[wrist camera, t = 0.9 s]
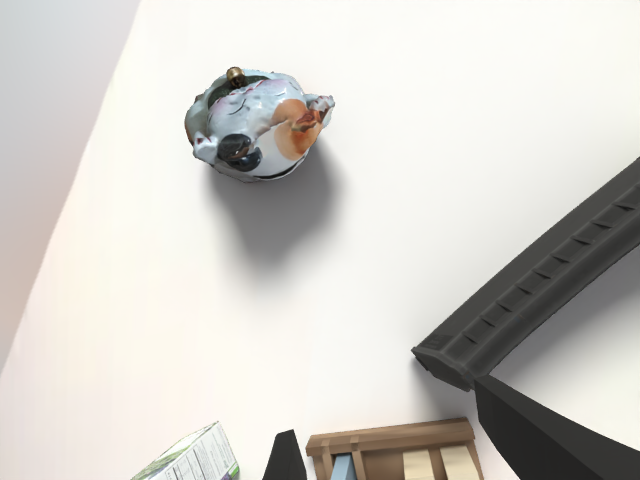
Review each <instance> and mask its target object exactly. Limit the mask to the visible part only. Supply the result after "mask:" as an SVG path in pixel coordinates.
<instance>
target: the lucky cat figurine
mask: <svg viewBox="0 0 640 480" xmlns="http://www.w3.org/2000/svg"><path fill="white" fill-rule="evenodd" d="M334 106H335V102H334V100H333V97H332V96H331V95H330V96H329V97H328V96H318V95H314V94H306V95H305V94H304V92H303V90H302V88H301V87H300V85H299V84H298V82H297V81H296V80H295V79H294V78H293V77H291V76H289V75H286V74H281V73H274V72H271V73H266V72H261V71H259V70H249V69H240V68H239V67H232V68H230V69H228V70H227V73H226V74H225V75H223V76H221V77H219V78H218V79H217V80H215V81H214V83H213V84H212V85H211V87H210V88H209V89H206V90H205V92H204V94H201V95H198V96H196V98H195V102H194V104H193V105H192V106H191V107H190V109H189V110H188V111H187V113H186V117H185V129H186V133H187V136H188V139H189V142H190V143H191V145H192V146H193V148H194V151H193V155H194V157H195V158H198V159H199V160H202V161H204V162H207V163H209V164H210V165H211V166H212V167H213V168H215V169H216V170H217V171H218V172H219V173H223V174H226V175H228V176H230V177H234V178H237V179H239V180H240V181H242V182H244V183H245V182H246V183H251V182H255V181H260V180H272V179H279V178H282V177H284V176H286V175H287V174H290V173H291V172H293V170H294V169H295V168H296V167H297V166H299V165H300V164H301V163H302V162H303V160H304V159H305V157H306V155H307V153H308V151H309V148H310V146H311V145H312V144H313V143H314V142H315V141H316V139H317V136H318V134H319V133H320V131H321V130H322V129H323V128H325V127H326V126H327V125H328V123H329V122H330V119H331V113H332V110H333V108H334Z"/></svg>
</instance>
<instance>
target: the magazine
mask: <svg viewBox="0 0 640 480" xmlns="http://www.w3.org/2000/svg"><path fill="white" fill-rule="evenodd" d="M639 244H640V157H638V158H637V159H636V160H635V161H634V162H633V163H632V164H630V165H629V166H628V167H627V168H625V169H624V170H623V171H621V172H620V173H619V174H618V175H616V176H615V177H614V178H613V179H611V180H610V181H609V182H607V183H606V184H605V185H604V186H602V187H601V188H600V189H599V190H597V191H596V192H595V193H594V194H592V195H591V196H590V197H589V198H587V199H586V200H585V201H584V202H582V203H581V204H580V205H579V206H577V207H576V208H575V209H573V210H572V211H571V212H570V213H569V214H567V215H566V216H565V217H564V218H562V219H561V220H560V221H559V222H557V223H556V224H555V225H554V226H553V227H551V228H550V229H549V230H548V231H547V232H545V233H544V234H543V235H542V236H541V237H539V238H538V239H537V240H536V241H535V242H533V243H532V244H531V245H530V246H529V247H527V248H526V249H525V250H524V251H523V252H522V253H520V254H519V255H518V256H517V257H516V258H515V259H513V260H512V261H511V262H510V263H509V264H508V265H506V266H505V267H504V268H503V269H502V270H501V271H500V272H498V273H497V274H496V275H495V276H494V277H493V278H492V279H490V280H489V281H488V282H487V283H486V284H485V285H484V286H483V287H481V288H480V289H479V290H478V291H477V292H476V293H475V294H474V295H472V296H471V297H470V298H469V299H468V300H467V301H466V302H465V303H464V304H463V305H461V306H460V307H459V308H458V309H457V310H456V311H455V312H454V313H453V314H452V315H450V316H449V317H448V318H447V319H446V320H445V321H444V322H443V323H442V324H441V325H440V326H438V327H437V328H436V329H435V330H434V331H433V332H432V333H431V334H430V335H429V336H428V337H426V338H425V339H424V340H423V341H422V342H421V343H420V344H419V345H418V346H417V347H413V348H412V349H411V351H412V352H413V354H414V355H415V356H416V359H417V360H418V361H419V362H420V364H421V365H422V366H423V367H424V368H425V369H426V370H427V371H428V370H429V371H430V373H431V374H432V375H433V376H434V377H436V378H438V379H440V380H442V381H444V382H447V383H449V384H451V385H453V386H455V387H458V388H460V389H462V390H464V391H466V392H469V391H470V389H472V390H475V386H474V378H477V377H481V376H484V375H488V374H489V373H490V372H491V371H492V370H493V369H494V368H495V367H496V366H497V365H498V364H499V363H500V362H501V361H502V360H503V359H504V358H505V357H506V356H507V355H508V354H509V353H510V352H511V351H512V350H513V349H514V348H515V347H517V346H518V345H519V344H520V343H521V342H522V341H523V340H524V339H525V338H526V337H527V336H529V335H530V334H531V333H532V332H533V331H534V330H536V328H538V327H539V326H540V325H541V324H542V323H544V322H545V321H546V320H547V319H548V318H550V317H551V316H552V315H553V314H555V313H556V312H557V311H558V310H559V309H560V308H561V307H563V306H564V305H565V304H566V303H567V302H569V301H570V300H571V299H572V298H573V297H575V296H576V295H577V294H578V293H579V292H580V291H582V290H583V289H584V288H585V287H586V286H587V285H589V284H590V283H591V282H592V281H594V280H595V279H596V278H597V277H598V276H600V275H601V274H602V273H603V272H605V271H606V270H607V269H608V268H610V267H611V266H612V265H613V264H615V263H616V262H617V261H618V260H620V259H621V258H622V257H624V256H625V255H626V254H627V253H629V252H630V251H631V250H633V249H634V248H635V247H637V246H638V245H639Z"/></svg>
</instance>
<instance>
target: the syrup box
mask: <svg viewBox="0 0 640 480" xmlns="http://www.w3.org/2000/svg"><path fill="white" fill-rule="evenodd" d="M238 470H239V467H238V464H237V462H236V459H235V457H234V455H233V452H232V450H231V447H230V445H229V443H228V440H227V438H226V435H225V433H224V431H223V428H222V426H221V424H220V422H219V421H217V422H215V423H213V424H211V425H209V426H207V427H205V428H203V429H201V430H199V431H197V432H195V433H193V434H191V435H189V436H187V437H185V438H183V439H181V440H180V441H178V442H177V443H176V444H175V445H173V446H172V447H171V448H170V449H168V450H167V451H166V452H164V453H163V454H162V455H161V456H159V457H158V458H157V459H156V460H155V461H153V462H152V463H151V464H150V465H148V466H147V467H146V468H145V469H143V470H142V471H141V472H139V473H138V474H137V475H136V476H134V477H133V478H132V479H131V480H231V479H232V478H233V477H234V475H235V474H236V473H237V472H238Z"/></svg>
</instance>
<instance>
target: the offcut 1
mask: <svg viewBox="0 0 640 480" xmlns="http://www.w3.org/2000/svg"><path fill="white" fill-rule="evenodd" d="M403 460H404V473H405V480H435V476H434V472H433V468H432V464H431V460H430V456H429V452H428V448H427V449H417V450H407V451H403Z"/></svg>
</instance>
